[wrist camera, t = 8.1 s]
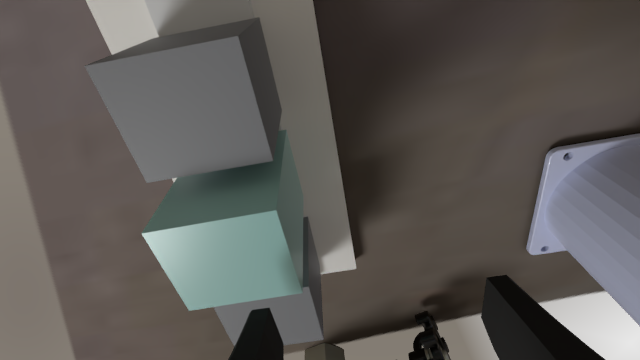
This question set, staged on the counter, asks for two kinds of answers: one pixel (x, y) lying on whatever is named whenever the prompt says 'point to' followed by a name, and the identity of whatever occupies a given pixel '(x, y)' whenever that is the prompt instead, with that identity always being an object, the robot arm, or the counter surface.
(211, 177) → the block
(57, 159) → the counter surface
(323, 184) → the rail plate
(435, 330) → the valve
